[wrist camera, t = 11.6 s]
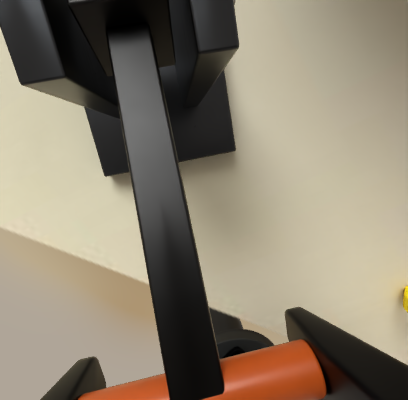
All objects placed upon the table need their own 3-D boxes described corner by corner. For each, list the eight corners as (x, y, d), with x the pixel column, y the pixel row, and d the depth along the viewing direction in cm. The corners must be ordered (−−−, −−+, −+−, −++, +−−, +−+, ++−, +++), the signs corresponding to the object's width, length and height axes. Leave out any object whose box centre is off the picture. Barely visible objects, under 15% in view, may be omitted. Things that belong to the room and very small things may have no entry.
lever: (297, 365, 6) (355, 437, 4) (105, 415, 6) (47, 525, 4) (201, -15, 8) (203, -118, 6) (50, 8, 8) (-13, -90, 6)
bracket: (232, 150, 18) (329, 170, 7) (108, 174, 18) (-13, 241, 6) (205, -29, 15) (293, -518, 4) (56, -7, 15) (-350, -506, 3)
